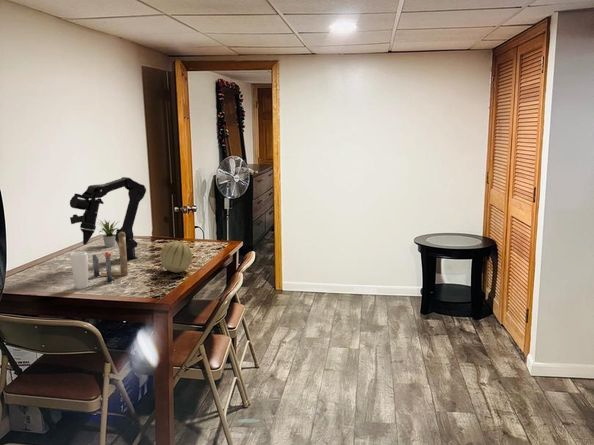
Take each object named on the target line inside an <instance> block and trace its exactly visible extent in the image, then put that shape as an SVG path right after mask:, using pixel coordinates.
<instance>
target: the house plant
mask: <svg viewBox="0 0 594 445" xmlns="http://www.w3.org/2000/svg"><path fill="white" fill-rule="evenodd" d="M115 222H116V221H115V220H114V221H113V222H112V224H111V225H110V221H107V219H104V222H103V221H102V220H100V219H99V222H97V224H98V225H99V226H101V225H102V226H101V230H99V232H98V233H99V234H100V233H101V232H102V231H103V235H102V239H103V242H104V247H106V248H113V247H115V246H116V241H115V235H116V231H117V229H119V227H116V228H115V226H116V225H117V224H118V223H119V221H117V222H116V223H115Z"/></svg>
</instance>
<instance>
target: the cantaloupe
mask: <svg viewBox="0 0 594 445" xmlns="http://www.w3.org/2000/svg"><path fill="white" fill-rule="evenodd" d="M159 259H160V263H161V264H160V265H161V266H162V267H163V268H164V269H165V270H167V271H170V272H171V273H182V272H185V271H186V270H188V269H189V267H190V266H191V265H192V262H193V250H191V247H190V246H189V245H188V244H186V243H184V242H183V240H181V239H180V241H177V240H176V241H175V240H174V241H170V242H168V243H167V244H166V245H164V247H163V248H162V250H161V252H160V255H159Z"/></svg>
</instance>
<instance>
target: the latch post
mask: <svg viewBox="0 0 594 445" xmlns="http://www.w3.org/2000/svg"><path fill="white" fill-rule="evenodd" d="M111 256H112V254H111V252H110V251H107V252H105V253H104V257H105V266H106V267H105V269H106V271H105V272H107V276H106V281H105V282H104V283H105V284H110V285H111V284H114V283H115V280H113V276H112V273H111V272H112V261H111V260H112V258H111Z"/></svg>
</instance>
